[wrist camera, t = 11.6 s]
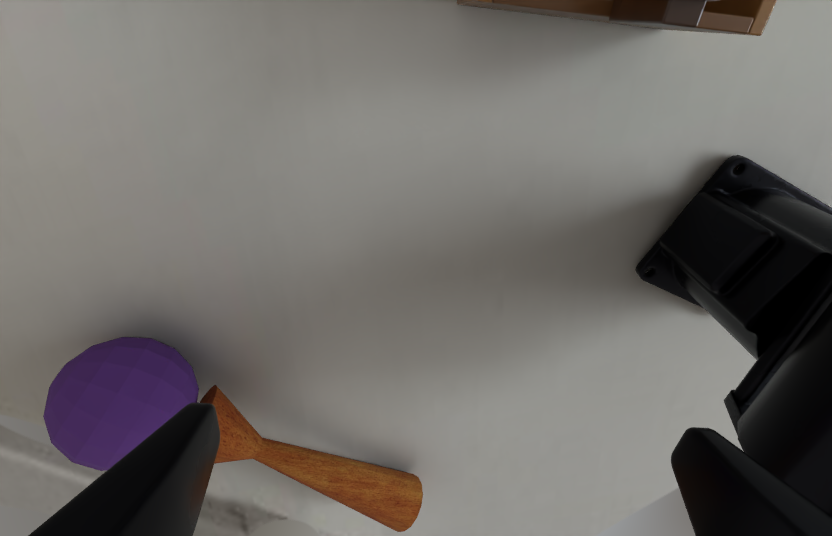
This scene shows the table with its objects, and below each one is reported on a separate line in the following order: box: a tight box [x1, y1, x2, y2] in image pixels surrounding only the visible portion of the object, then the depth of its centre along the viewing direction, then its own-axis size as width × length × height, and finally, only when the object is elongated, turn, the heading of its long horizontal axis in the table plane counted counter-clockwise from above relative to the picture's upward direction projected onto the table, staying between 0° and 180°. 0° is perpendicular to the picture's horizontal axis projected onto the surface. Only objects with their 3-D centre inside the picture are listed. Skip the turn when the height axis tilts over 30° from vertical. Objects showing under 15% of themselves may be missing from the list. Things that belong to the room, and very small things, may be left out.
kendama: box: [43, 337, 423, 532], centre depth 24 cm, size 6×6×20 cm
